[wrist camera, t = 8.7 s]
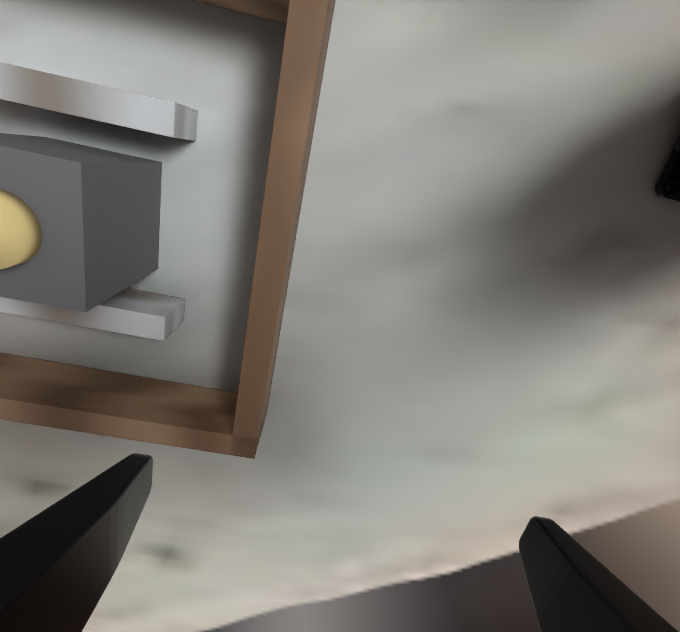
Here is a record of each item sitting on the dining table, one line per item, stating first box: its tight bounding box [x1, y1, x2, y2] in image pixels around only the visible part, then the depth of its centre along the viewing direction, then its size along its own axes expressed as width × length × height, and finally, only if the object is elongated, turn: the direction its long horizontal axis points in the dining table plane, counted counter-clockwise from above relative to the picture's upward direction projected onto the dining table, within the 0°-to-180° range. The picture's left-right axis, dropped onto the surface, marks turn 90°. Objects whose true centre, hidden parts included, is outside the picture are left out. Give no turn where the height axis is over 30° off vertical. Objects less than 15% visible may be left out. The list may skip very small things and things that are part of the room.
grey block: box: [0, 133, 162, 312], centre depth 15 cm, size 5×5×7 cm
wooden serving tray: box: [0, 0, 335, 459], centre depth 16 cm, size 18×20×4 cm
